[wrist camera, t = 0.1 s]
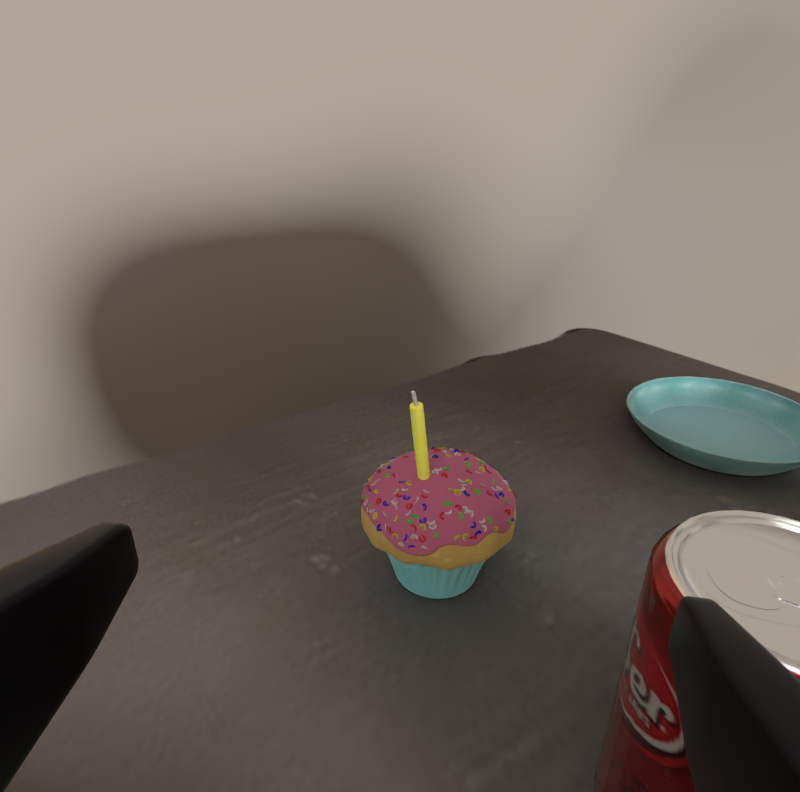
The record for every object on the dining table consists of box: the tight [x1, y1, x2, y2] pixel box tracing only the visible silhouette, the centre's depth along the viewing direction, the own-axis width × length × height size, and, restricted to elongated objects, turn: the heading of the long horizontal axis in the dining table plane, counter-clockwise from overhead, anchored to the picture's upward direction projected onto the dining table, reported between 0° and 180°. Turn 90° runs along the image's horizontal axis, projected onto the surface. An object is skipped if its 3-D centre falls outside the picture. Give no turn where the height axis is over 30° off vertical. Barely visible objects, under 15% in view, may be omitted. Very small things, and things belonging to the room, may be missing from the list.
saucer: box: [627, 376, 800, 476], centre depth 46 cm, size 15×15×3 cm
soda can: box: [594, 510, 800, 792], centre depth 18 cm, size 7×7×12 cm
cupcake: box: [361, 391, 516, 599], centre depth 30 cm, size 9×8×12 cm
